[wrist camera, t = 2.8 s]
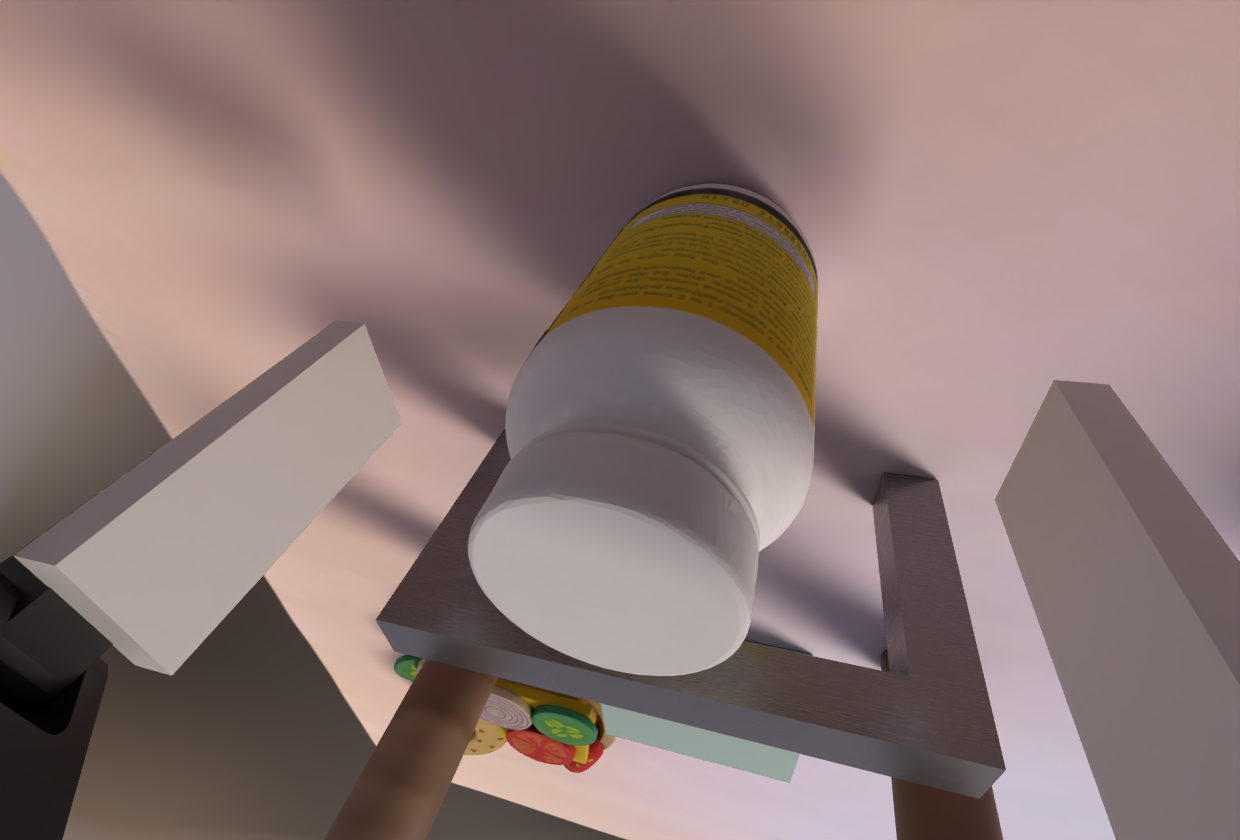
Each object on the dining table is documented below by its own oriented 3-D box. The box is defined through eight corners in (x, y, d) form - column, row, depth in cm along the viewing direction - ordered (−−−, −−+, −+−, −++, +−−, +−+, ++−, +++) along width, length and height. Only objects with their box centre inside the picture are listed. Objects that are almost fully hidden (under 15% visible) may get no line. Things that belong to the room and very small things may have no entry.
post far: (472, 553, 26) (238, 950, 16) (531, 565, 25) (329, 989, 15) (485, 591, 28) (285, 969, 17) (541, 603, 27) (368, 1005, 17)
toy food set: (434, 695, 39) (408, 743, 37) (396, 589, 31) (360, 642, 28) (616, 754, 37) (602, 810, 35) (630, 657, 29) (613, 721, 26)
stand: (609, 612, 26) (593, 662, 24) (812, 655, 24) (812, 714, 22) (619, 686, 30) (606, 733, 28) (791, 728, 28) (789, 782, 26)
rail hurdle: (507, 424, 20) (375, 619, 14) (937, 479, 17) (1005, 770, 11) (515, 455, 21) (394, 651, 15) (924, 514, 18) (979, 798, 12)
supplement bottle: (601, 178, 14) (358, 420, 7) (833, 176, 12) (857, 479, 5) (619, 364, 17) (472, 661, 10) (804, 378, 16) (793, 738, 8)
